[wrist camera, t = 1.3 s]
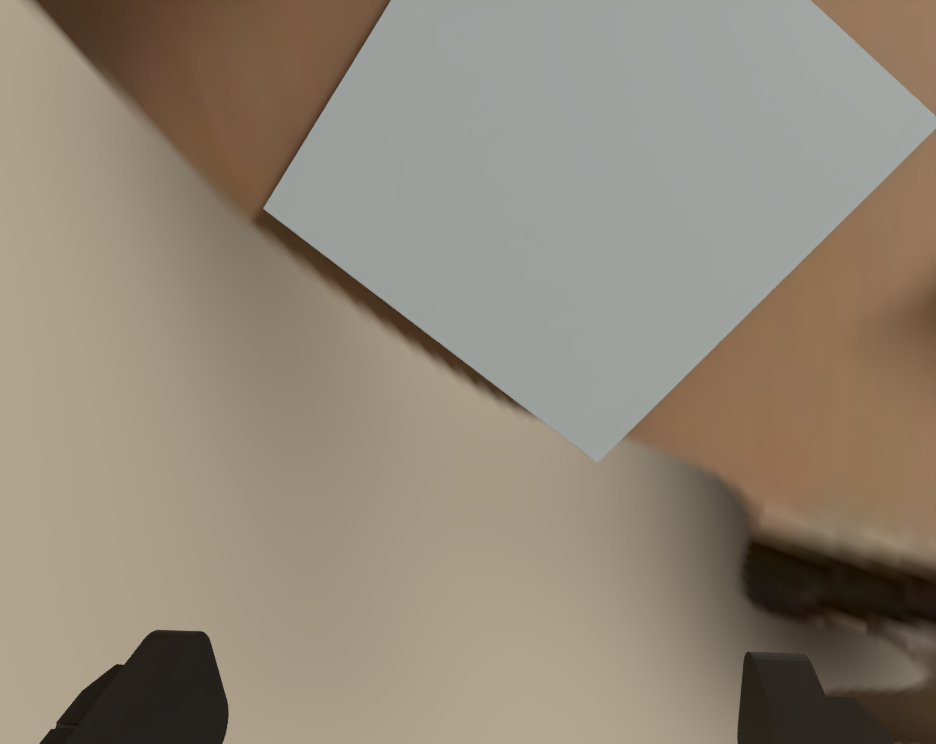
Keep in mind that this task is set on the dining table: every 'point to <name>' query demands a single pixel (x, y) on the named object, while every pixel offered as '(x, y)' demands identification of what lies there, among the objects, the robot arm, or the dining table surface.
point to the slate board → (592, 182)
